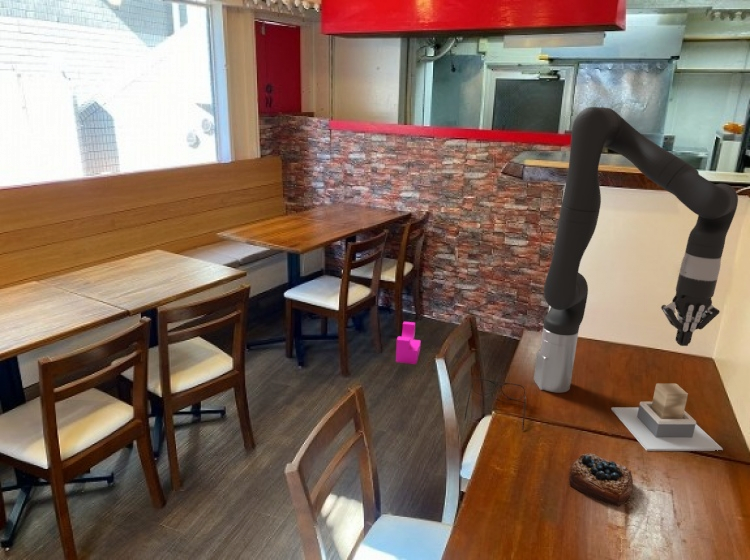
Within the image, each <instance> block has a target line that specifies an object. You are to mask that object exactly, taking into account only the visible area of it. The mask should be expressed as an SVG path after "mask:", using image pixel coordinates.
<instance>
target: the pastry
mask: <svg viewBox="0 0 750 560" xmlns="http://www.w3.org/2000/svg"><path fill="white" fill-rule="evenodd" d="M568 475H569V476H568V481H569V484H568V485H569V487H571V488H573V489H575V490H577V491H579V492H581V493H583V494H585V495H588V496H590V497H592V498H595V499H596V500H598V501H602V502H604V503H605V504H606V503H607V504H610V505H613V506H616V507H620V505H622V504H624V503H625V502H626V501H627V500H628V498H630V496H631V494H632V493H633V487H634V482H633V481H634V480H633V475H632V471H631V470H630V469H629V468H628V467H627V466H625V465H622V464H618V463H617V462H615V461H613V460H611V461H610V460H608V459H605V458H603V457H600V456H597V454H594V453H591V452H585V454H584V453H583V454H581V455H579V457H578V458H577V459H576V460H575V461H574V462H573V464H572V466H570V470H569V474H568Z"/></svg>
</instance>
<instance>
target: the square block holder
mask: <svg viewBox="0 0 750 560" xmlns="http://www.w3.org/2000/svg"><path fill="white" fill-rule="evenodd" d="M651 406H652V401H639V406H638V407H630V406H628V407H623V406H622V407H621V406H620V407H617V406H616V407H611V411H612V413H614V415H616V417H617V418H618V419H619V420H620V422H622V424H623V425H624V426H625V427H626V428H627V430H628V431H629V432H630V433H631V434H632V436H634V438H635V439H636V440H637V441H638V443H639V444H640V445H641V446H642V447H643V448H644V449H645V451H646V452H652V451H653V452H667V451H668V452H680V451H681V452H691V451H693V452H695V451H697V452H701V451H702V452H703V451H704V452H711V451H713V452H715V450H717V452H719V451H718V450H722V451H723V450H724V449H723V447H722V446H721V445H719V444H718V443H717V442H716V441H715V440H714V439H713V438H712V437H711V436H710V435H708V434H707V433H706V432H705V430H703V429H702V428H701V427H700V426H699V425H698V424H697V420H695V419H694V418H693V417H692V416H691V415H690V414H689V413H688V412H687V411H685V410H684V414H683V418H682V419H661V418H660V417H659V416H658V415H657V414H656V413H655V412H654V411H653V410H652V409H651Z"/></svg>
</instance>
